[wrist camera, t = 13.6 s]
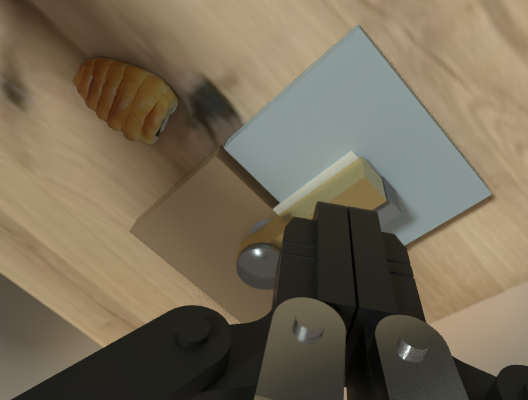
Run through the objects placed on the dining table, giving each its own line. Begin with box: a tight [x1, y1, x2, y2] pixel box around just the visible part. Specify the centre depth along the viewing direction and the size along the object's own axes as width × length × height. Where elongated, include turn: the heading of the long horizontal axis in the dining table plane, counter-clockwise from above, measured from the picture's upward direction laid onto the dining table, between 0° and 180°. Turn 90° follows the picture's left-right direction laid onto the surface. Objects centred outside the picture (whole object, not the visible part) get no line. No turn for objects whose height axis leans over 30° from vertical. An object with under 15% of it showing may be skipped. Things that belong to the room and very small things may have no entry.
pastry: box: [73, 57, 178, 145], centre depth 42 cm, size 9×7×4 cm
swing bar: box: [235, 156, 387, 290], centre depth 42 cm, size 16×5×5 cm, turn 133°
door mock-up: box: [129, 24, 492, 324], centre depth 45 cm, size 20×31×6 cm, turn 134°
